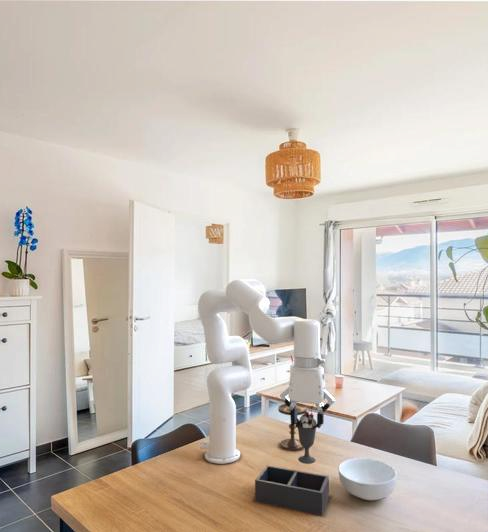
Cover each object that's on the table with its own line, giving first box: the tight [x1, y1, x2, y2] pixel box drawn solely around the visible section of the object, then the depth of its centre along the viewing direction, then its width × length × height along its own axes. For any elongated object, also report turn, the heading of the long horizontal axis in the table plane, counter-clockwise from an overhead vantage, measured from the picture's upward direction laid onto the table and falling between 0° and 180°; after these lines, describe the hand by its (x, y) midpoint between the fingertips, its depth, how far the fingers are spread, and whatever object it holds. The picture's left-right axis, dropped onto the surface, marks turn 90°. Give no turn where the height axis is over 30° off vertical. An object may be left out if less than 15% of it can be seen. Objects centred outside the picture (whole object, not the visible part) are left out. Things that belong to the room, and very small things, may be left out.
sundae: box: [295, 405, 318, 465], centre depth 115 cm, size 7×7×15 cm
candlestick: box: [277, 354, 308, 452], centre depth 154 cm, size 11×11×35 cm
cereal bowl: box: [338, 457, 398, 501], centre depth 120 cm, size 17×17×7 cm
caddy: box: [254, 464, 330, 517], centre depth 116 cm, size 10×19×6 cm, turn 69°
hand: (306, 424), depth 115 cm, fingers closed on sundae, 6 cm apart
